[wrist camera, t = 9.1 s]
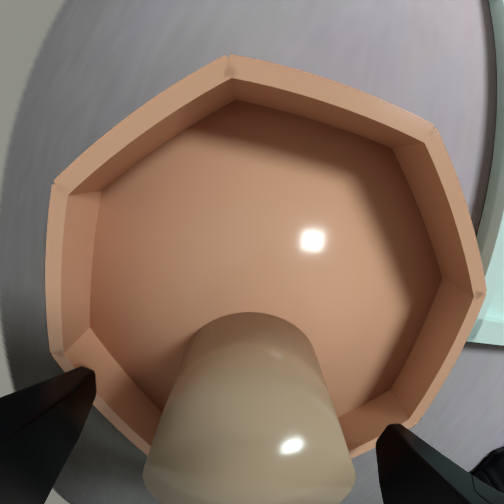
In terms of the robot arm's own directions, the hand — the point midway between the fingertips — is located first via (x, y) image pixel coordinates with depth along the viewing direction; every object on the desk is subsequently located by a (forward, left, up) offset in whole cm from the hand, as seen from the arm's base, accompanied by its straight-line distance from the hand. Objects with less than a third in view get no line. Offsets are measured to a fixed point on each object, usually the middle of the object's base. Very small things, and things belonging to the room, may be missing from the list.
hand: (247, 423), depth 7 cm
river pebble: (0, 0, -2) cm, 2 cm away
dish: (0, -3, -3) cm, 4 cm away
